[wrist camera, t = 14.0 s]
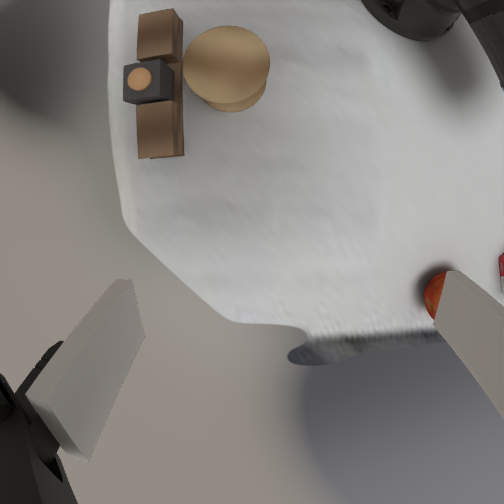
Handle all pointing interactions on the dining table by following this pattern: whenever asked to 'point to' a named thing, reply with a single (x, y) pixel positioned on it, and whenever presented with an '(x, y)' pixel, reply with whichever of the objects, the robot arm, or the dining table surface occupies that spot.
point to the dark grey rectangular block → (148, 82)
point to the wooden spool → (227, 67)
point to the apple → (434, 293)
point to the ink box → (502, 271)
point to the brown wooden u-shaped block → (169, 112)
